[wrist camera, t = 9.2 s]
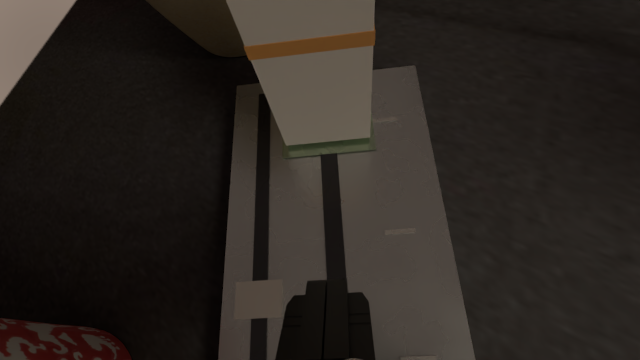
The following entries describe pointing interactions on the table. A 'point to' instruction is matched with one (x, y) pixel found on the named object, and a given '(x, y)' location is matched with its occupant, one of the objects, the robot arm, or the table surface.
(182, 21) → the plant pot
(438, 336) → the console
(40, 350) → the mug
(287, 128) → the fader knob
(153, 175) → the table surface
